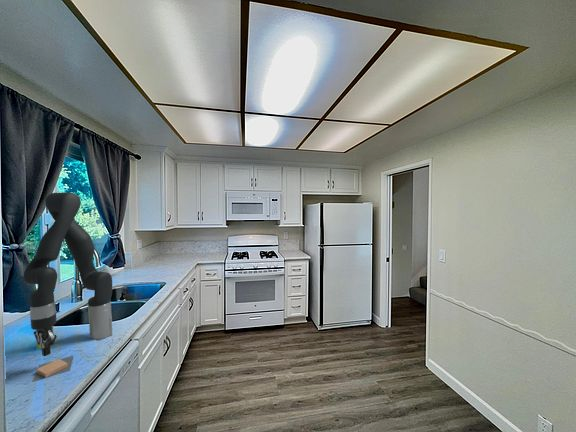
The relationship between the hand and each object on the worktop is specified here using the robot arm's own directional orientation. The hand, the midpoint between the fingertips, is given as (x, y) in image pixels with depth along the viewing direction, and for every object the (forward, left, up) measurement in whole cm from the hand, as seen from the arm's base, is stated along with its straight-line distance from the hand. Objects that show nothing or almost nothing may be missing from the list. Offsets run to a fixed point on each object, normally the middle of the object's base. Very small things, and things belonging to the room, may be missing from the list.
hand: (46, 354), depth 104 cm
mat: (-3, +3, -6) cm, 7 cm away
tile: (-1, +2, -4) cm, 4 cm away
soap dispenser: (+4, -21, -6) cm, 22 cm away
